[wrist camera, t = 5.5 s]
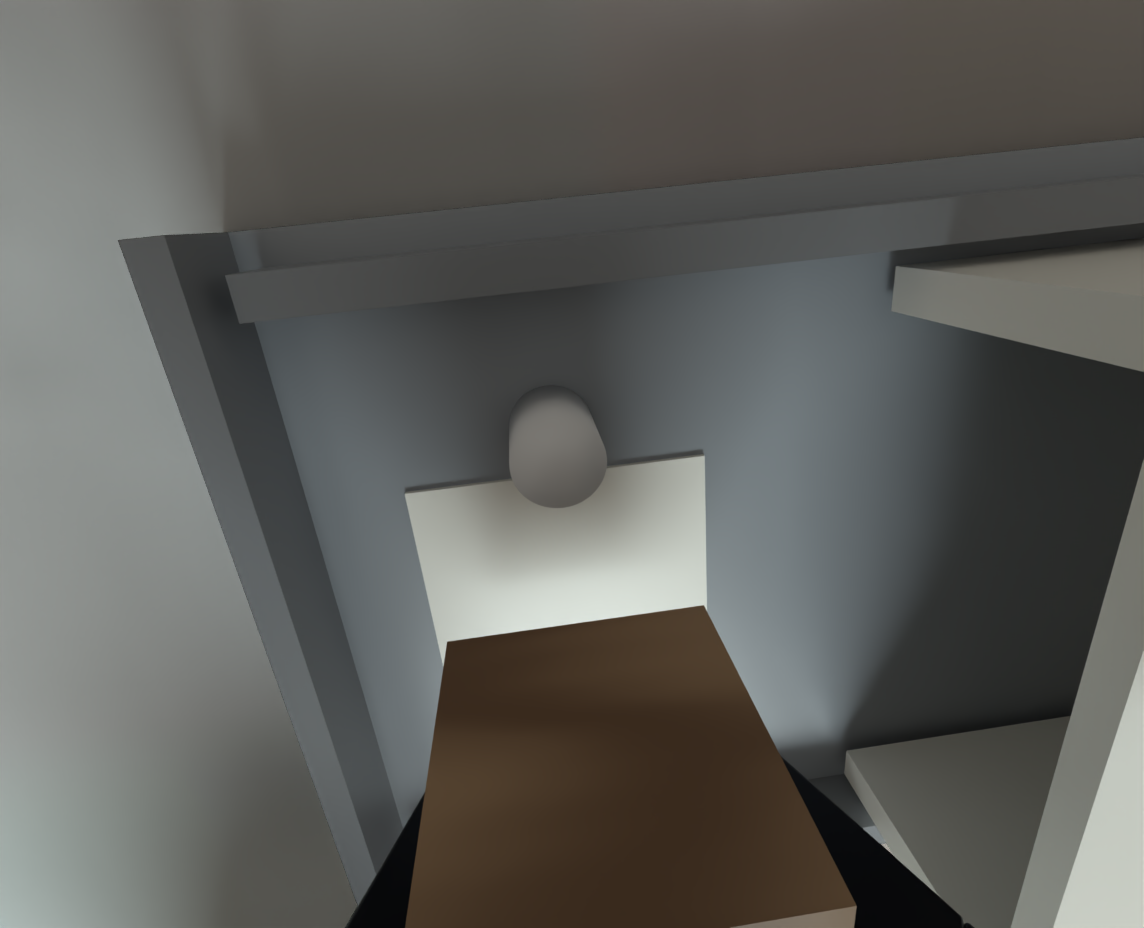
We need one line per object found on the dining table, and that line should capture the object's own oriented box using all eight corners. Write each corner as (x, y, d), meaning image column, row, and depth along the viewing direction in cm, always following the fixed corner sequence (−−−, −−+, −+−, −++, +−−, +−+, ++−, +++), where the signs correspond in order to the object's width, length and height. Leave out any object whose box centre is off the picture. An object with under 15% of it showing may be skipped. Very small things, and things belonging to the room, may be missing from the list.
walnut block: (486, 824, 11) (472, 1203, 7) (446, 641, 9) (397, 984, 5) (707, 788, 11) (828, 1134, 7) (703, 604, 9) (856, 905, 5)
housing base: (401, 836, 17) (378, 966, 14) (222, 234, 11) (117, 239, 8) (1135, 721, 18) (1256, 818, 15) (1340, 118, 12) (1607, 85, 9)
